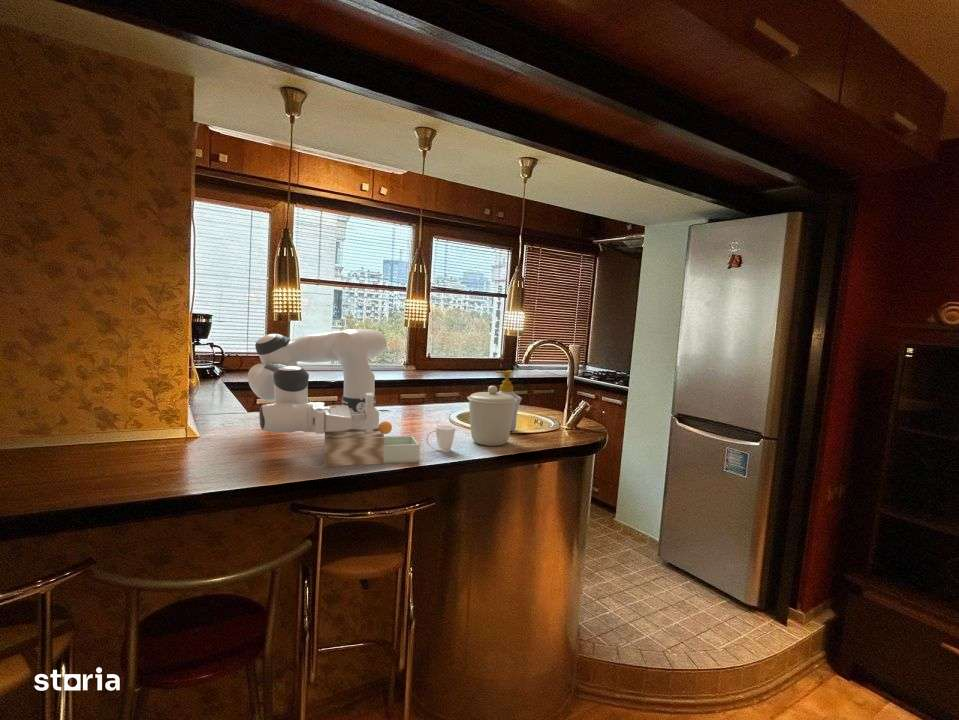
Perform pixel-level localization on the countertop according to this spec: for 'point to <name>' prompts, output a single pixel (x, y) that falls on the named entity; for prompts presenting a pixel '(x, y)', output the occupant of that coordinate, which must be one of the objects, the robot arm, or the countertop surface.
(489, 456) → the countertop surface
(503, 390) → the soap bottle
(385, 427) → the ball
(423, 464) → the countertop surface
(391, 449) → the pale green open box
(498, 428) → the canister
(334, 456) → the chevron patterned box
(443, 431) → the cup
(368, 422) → the plunger paddle
